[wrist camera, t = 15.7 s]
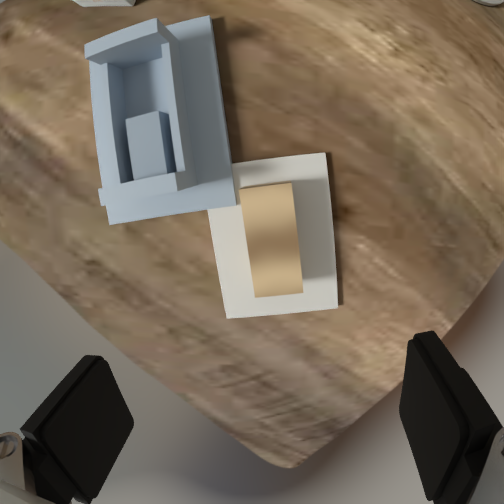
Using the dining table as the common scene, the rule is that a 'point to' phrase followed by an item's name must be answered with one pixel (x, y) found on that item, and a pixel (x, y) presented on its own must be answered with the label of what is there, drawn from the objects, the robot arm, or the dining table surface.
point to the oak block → (272, 238)
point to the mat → (308, 229)
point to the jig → (160, 121)
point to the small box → (105, 2)
